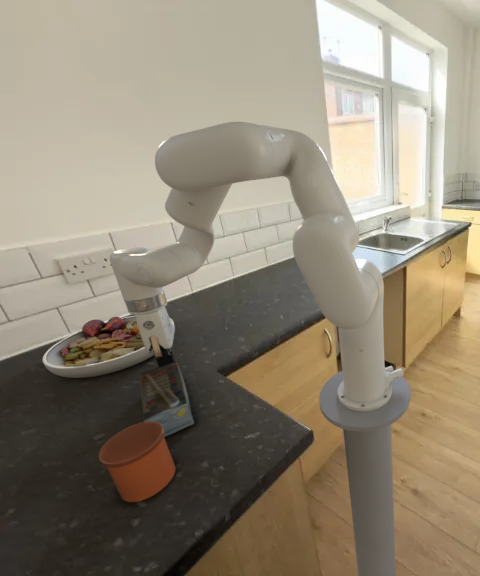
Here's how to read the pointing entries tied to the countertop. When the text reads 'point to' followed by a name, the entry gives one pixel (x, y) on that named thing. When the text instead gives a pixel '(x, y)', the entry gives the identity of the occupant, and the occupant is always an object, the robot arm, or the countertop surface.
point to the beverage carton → (166, 398)
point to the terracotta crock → (138, 461)
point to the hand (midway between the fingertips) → (168, 368)
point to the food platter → (98, 349)
